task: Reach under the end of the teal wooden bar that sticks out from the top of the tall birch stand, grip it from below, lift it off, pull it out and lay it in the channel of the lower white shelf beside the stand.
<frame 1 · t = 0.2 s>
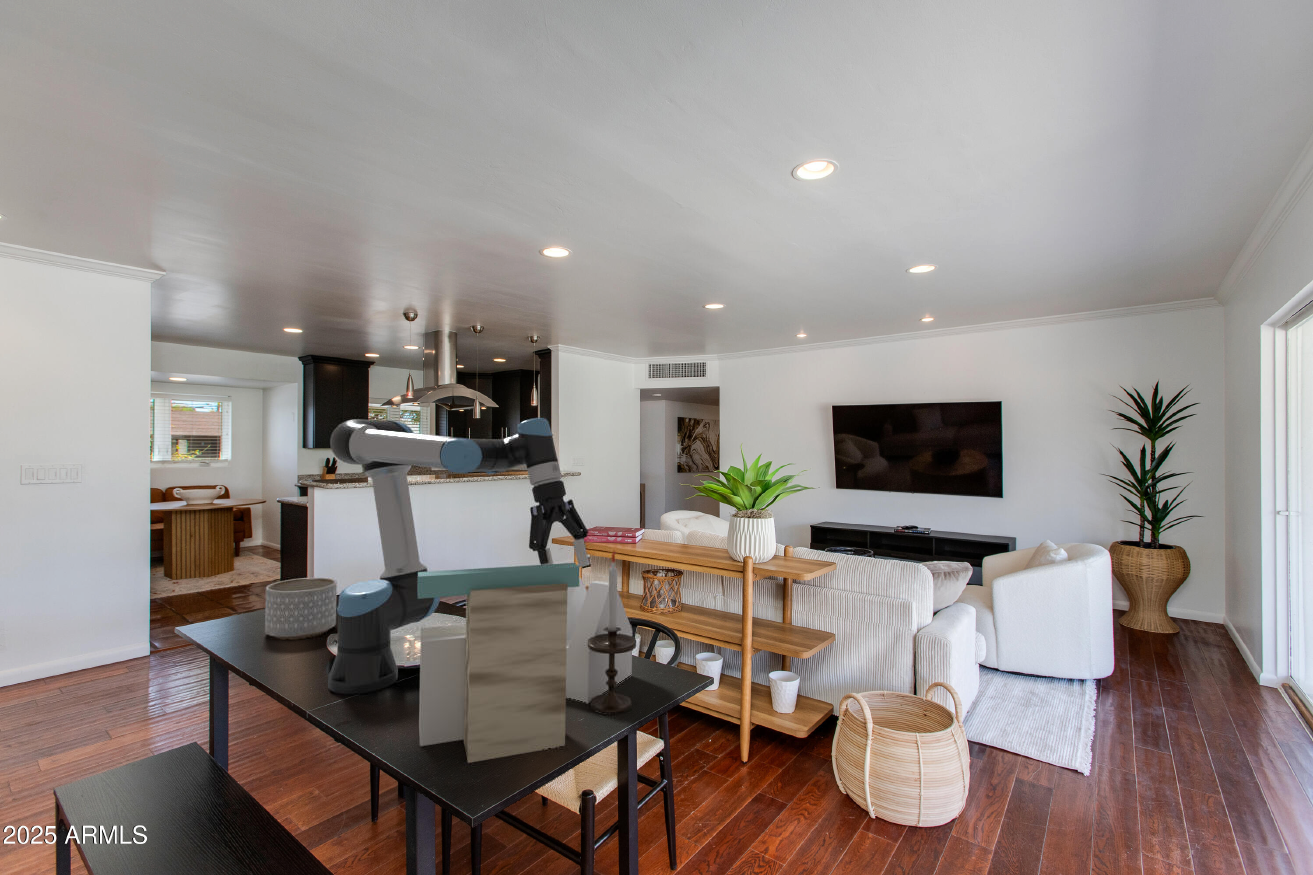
hand: (568, 571, 143), 29 cm above the table, tool tilted 15°, fingers open, 13 cm apart
white slotted block: (584, 683, 151), on the table
bar: (500, 589, 119), point 30 cm above the table, touching stand
stand: (514, 743, 120), on the table
planter: (301, 632, 187), on the table
shelf: (466, 728, 126), on the table
candlestick: (611, 706, 138), on the table
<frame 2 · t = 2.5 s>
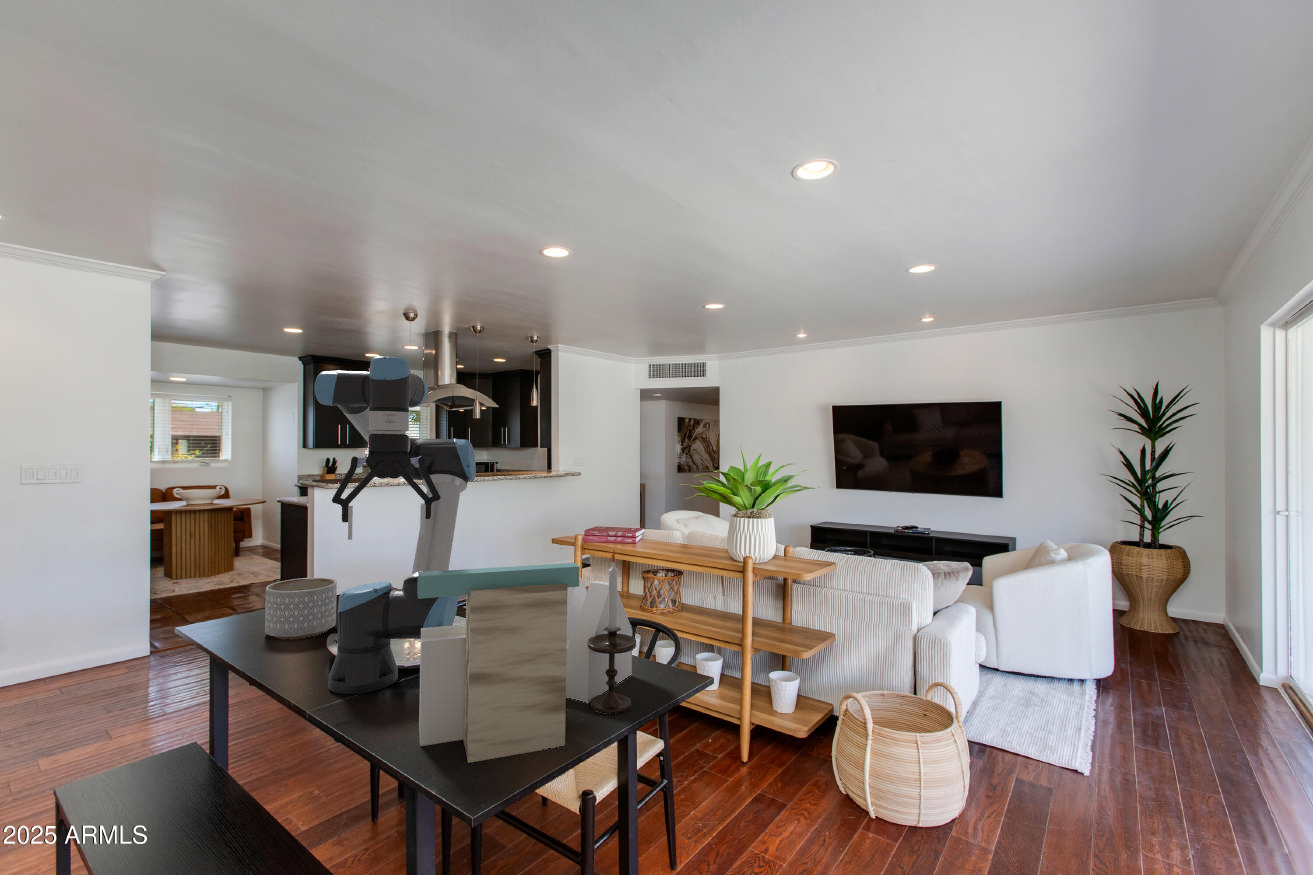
hand: (387, 536, 126), 39 cm above the table, tool pointing down, fingers open, 13 cm apart
nothing on the table moved.
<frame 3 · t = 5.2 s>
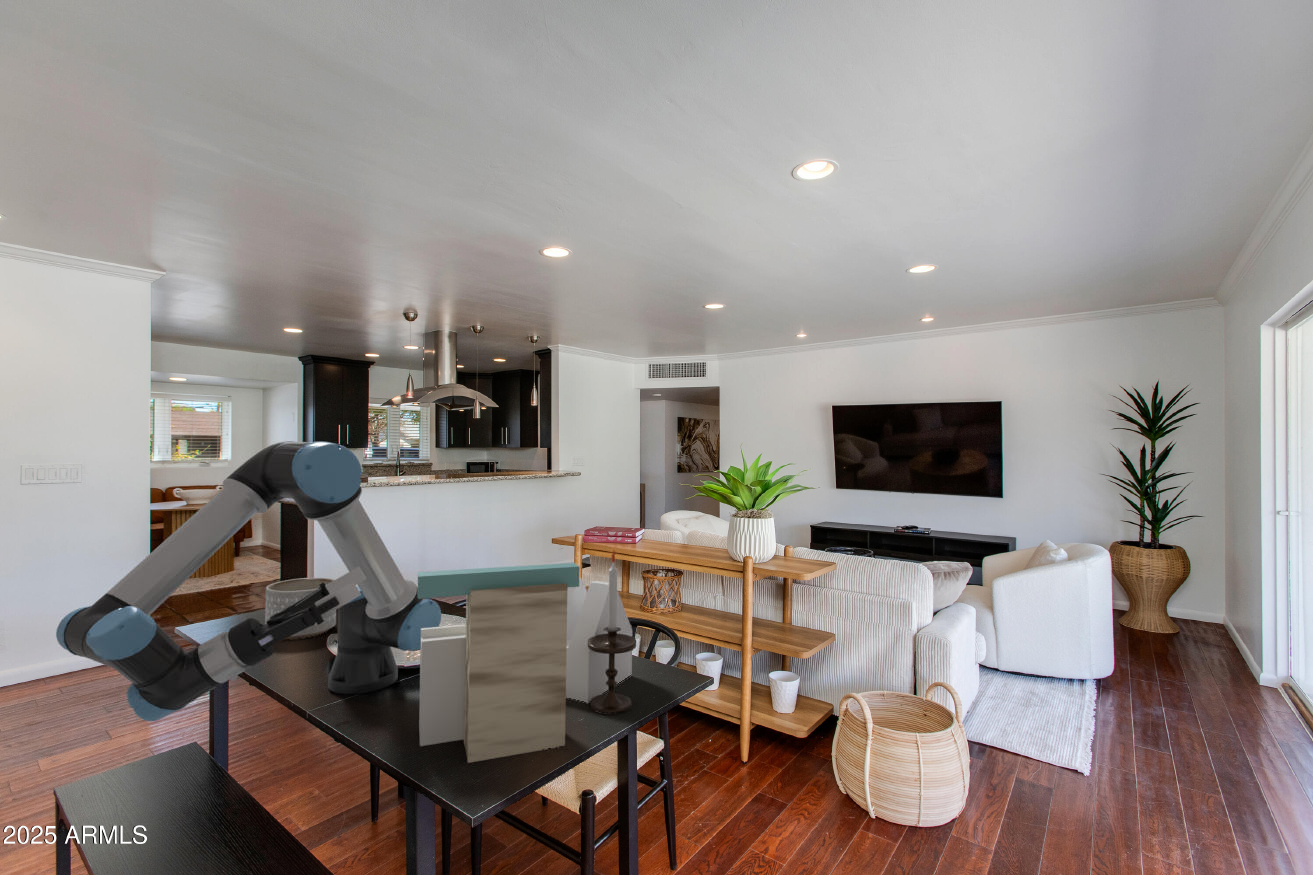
hand: (360, 579, 113), 33 cm above the table, tool pointing upward, fingers open, 13 cm apart
nothing on the table moved.
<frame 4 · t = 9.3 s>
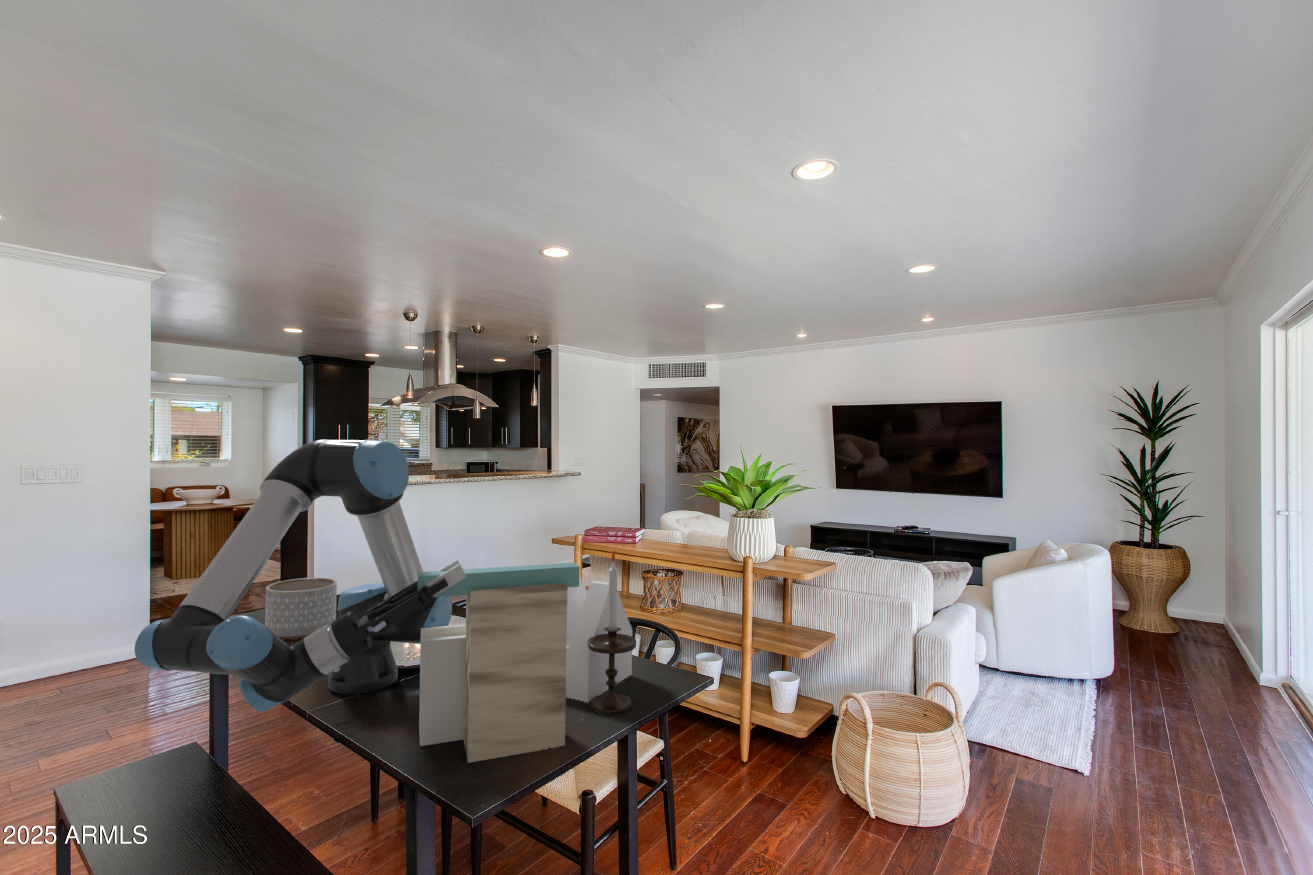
hand: (461, 567, 117), 35 cm above the table, tool pointing upward, fingers closed on bar, 4 cm apart
bar: (500, 589, 119), point 30 cm above the table, touching gripper, stand
everything else where it was.
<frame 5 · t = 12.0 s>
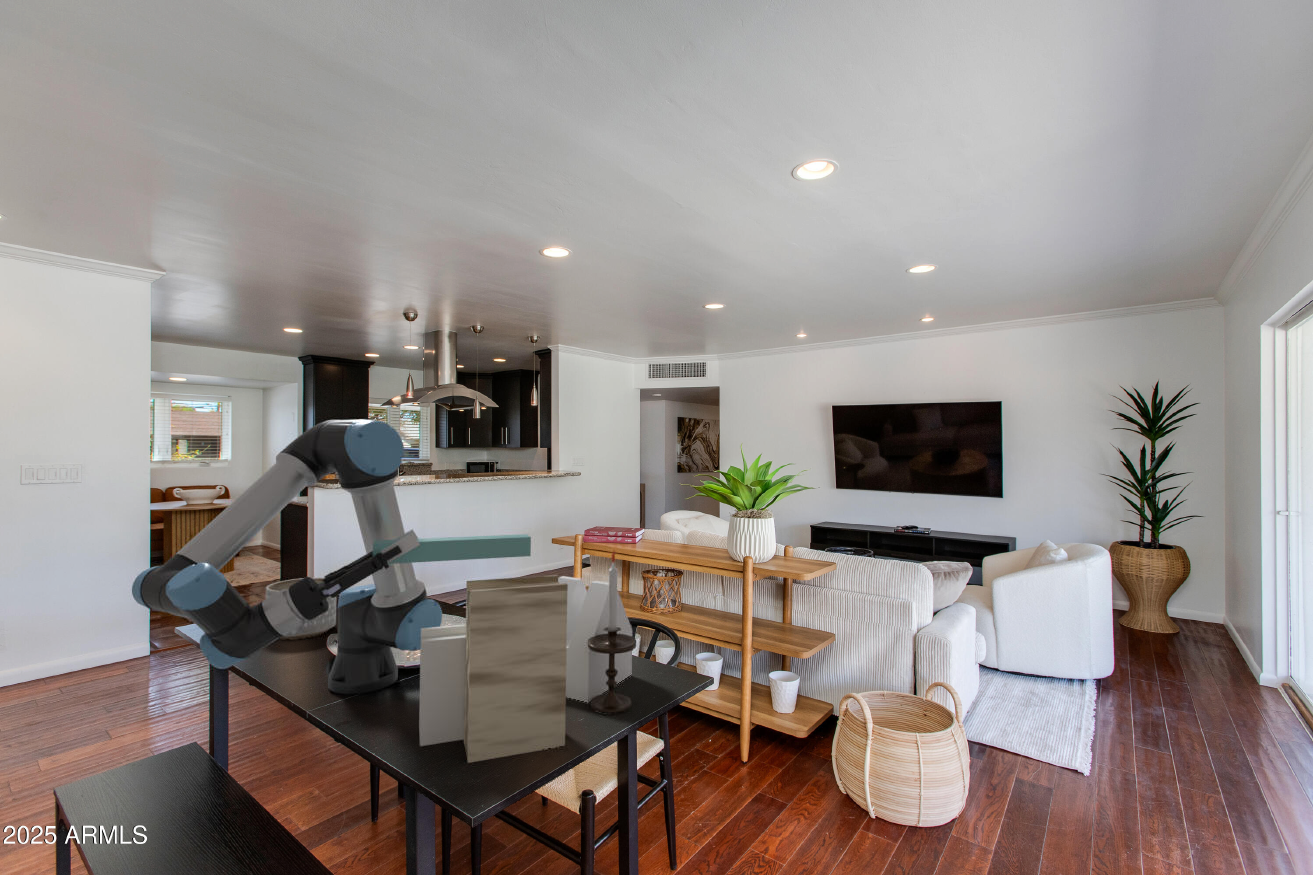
hand: (416, 536, 122), 39 cm above the table, tool pointing upward, fingers closed on bar, 4 cm apart
bar: (454, 558, 125), point 35 cm above the table, touching gripper
everything else where it was.
when the fingers open (25 cm above the table, at t = 14.9 s): bar drops 2 cm, resting on shelf.
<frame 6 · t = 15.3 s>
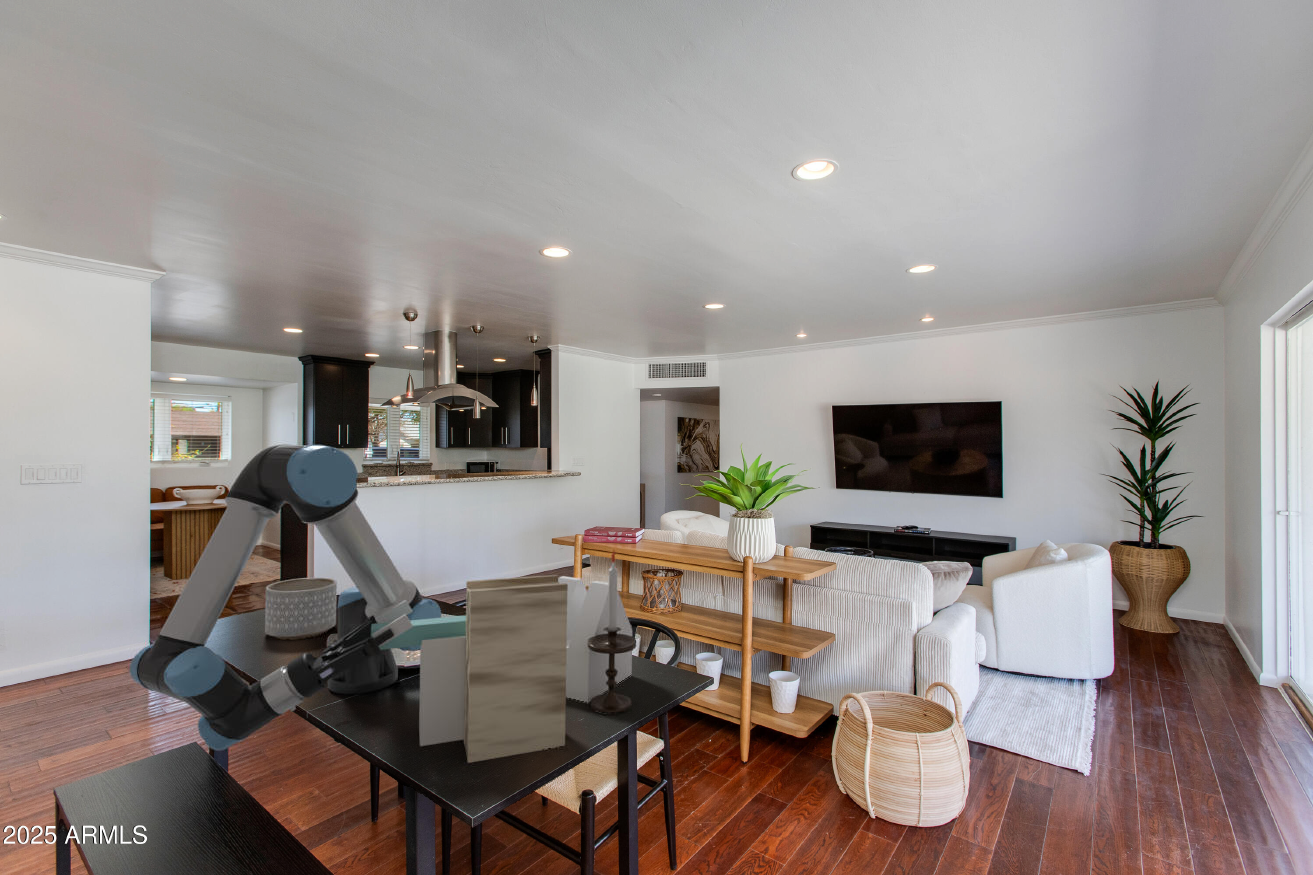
hand: (409, 612, 122), 25 cm above the table, tool pointing upward, fingers open, 10 cm apart
bar: (452, 638, 125), point 18 cm above the table, touching shelf
everything else where it was.
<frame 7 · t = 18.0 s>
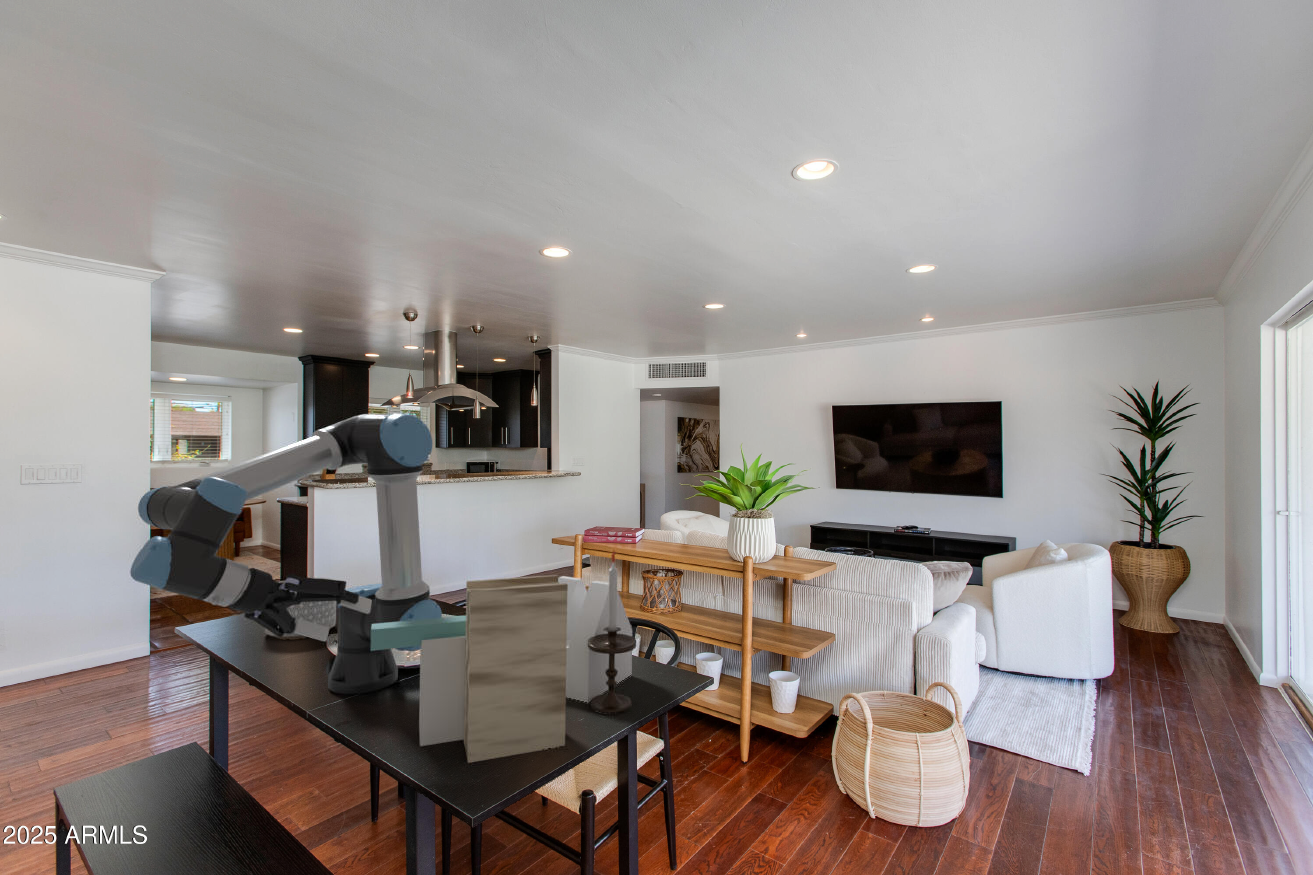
hand: (348, 621, 123), 22 cm above the table, tool tilted 60°, fingers open, 13 cm apart
nothing on the table moved.
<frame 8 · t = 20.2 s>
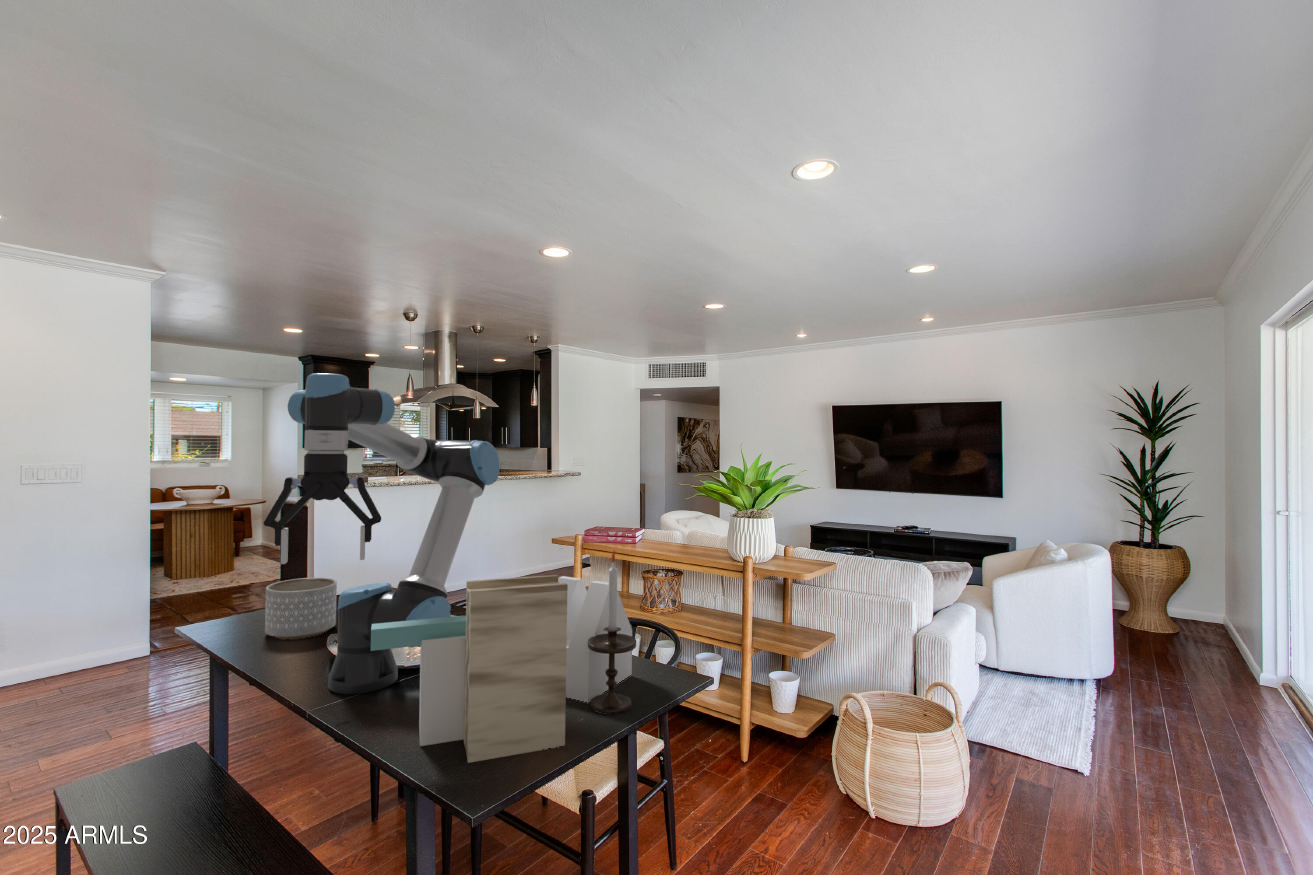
hand: (324, 560, 121), 35 cm above the table, tool pointing down, fingers open, 13 cm apart
nothing on the table moved.
at the end: bar inside the target area (1.1 cm from its centre), point 18.5 cm above the table; the gripper is holding nothing; bar moved 17.1 cm from its start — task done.
